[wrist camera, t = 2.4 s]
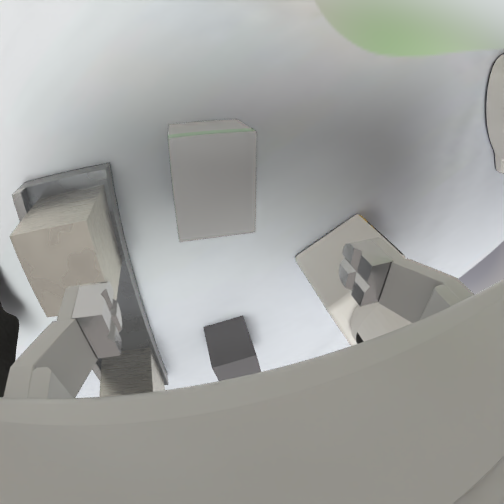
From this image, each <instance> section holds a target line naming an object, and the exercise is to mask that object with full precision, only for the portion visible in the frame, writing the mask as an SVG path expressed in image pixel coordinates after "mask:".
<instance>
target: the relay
mask: <svg viewBox="0 0 504 504" xmlns="http://www.w3.org/2000/svg"><path fill="white" fill-rule="evenodd" d="M204 332H205V337H206V342H207V346H208V351H209V356H210V361H211V365H212V369H213V370H214V372H215V374H216V376H217V378H218V380H219V381H222V380H227V379H232V378H237V377H242V376H246V375H251V374H255V373H259V372H261V370H260V366H259V363H258V359H257V356H256V353H255V350H254V347H253V344H252V341H251V338H250V335H249V332H248V329H247V327H246V324H245V321H244V318H243V316H240V317H237V318H233V319H230V320H226V321H223V322H220V323H216V324H213V325H209V326H206V327H204Z"/></svg>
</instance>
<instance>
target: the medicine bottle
mask: <svg viewBox="0 0 504 504" xmlns="http://www.w3.org/2000/svg"><path fill="white" fill-rule="evenodd" d="M377 237H379V238H382V239H383V240H384V241H385V242H386V243H388V244H389V245H390V246H391V247H392V248H393V249H394V250H395V251H396V252H398V253H399V254H400V255H401V256H402V257H403V258H404V259H406V258H405V256H404V255H403V254H402V253H401V252H400V251H399V250H398V249H397V248H396V247H395V246H394V245H393V244H392V243H391V242H390V241H389V240H388V239H386V238H385V237H384V236H383V235H382V234H381V233H380V232H379V231H378V230H377V229H375V228H374V227H373V226H372V225H371V224H370V223H369V222H368V221H366V220H365V219H364V218H363V217H362V216H361V215H359V214H356V215H354V216H353V217H352V218H350V219H349V220H347V221H346V222H345V223H343V224H342V225H340V226H339V227H337V228H336V229H335V230H333V231H332V232H330V233H329V234H327V235H326V236H324V237H323V238H322V239H320V240H319V241H317V242H316V243H314V244H313V245H311V246H310V247H308V248H307V249H306V250H304V251H303V252H301V253H300V254H298V255H297V256H296V257H295V260H296V262H297V264H298V265H299V267H300V268H301V270H302V272H303V273H304V275H305V276H306V278H307V279H308V281H309V283H310V284H311V286H312V287H313V289H314V290H315V292H316V294H317V295H318V297H319V298H320V300H321V302H322V303H323V305H324V306H325V308H326V310H327V311H328V313H329V314H330V316H331V317H332V318H333V320H334V321H335V323H336V324H337V326H338V327H339V329H340V330H341V332H342V333H343V335H344V336H345V338H346V339H347V341H348V342H349V344H350V345H351V346H353V345H356V344H359V343H362V342H365V341H367V340H370V339H373V338H376V337H378V336H381V335H384V334H386V333H389V332H392V331H394V330H397V329H399V328H402V327H404V326H407V325H409V324H412V323H411V322H410V321H408V320H406V319H405V318H403V317H401V316H400V315H398V314H396V313H395V312H393V311H391V310H390V309H388V308H386V307H385V306H383V305H381V304H379V302H376V303H372V304H369V305H365V306H361V307H360V306H359V304H358V303H357V302H356V301H355V299H354V298H353V297H352V296H351V291H352V290H350V289H347V288H345V287H344V285H343V284H342V282H341V280H340V277H339V266H340V263H341V261H342V260H343V259H344V256H343V254H342V251H343V247H344V245H345V244H346V243H352V242H358V241H363V240H367V239H372V238H377Z"/></svg>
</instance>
